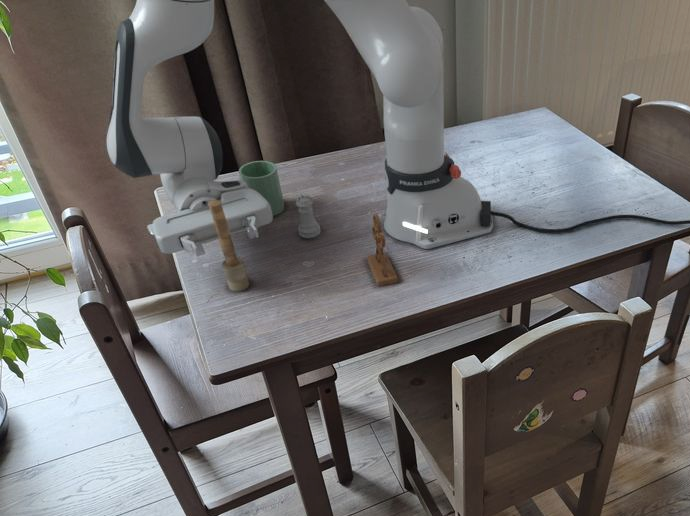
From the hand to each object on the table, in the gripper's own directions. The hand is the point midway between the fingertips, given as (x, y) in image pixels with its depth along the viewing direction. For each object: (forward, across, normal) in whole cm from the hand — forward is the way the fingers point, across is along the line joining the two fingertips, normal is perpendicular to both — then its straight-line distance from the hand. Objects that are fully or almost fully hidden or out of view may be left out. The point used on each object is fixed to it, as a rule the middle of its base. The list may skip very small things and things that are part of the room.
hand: (227, 243), depth 109 cm
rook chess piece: (-10, +18, +10) cm, 22 cm away
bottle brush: (-1, 0, +10) cm, 10 cm away
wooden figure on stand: (+10, +24, +10) cm, 28 cm away
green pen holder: (-23, +14, +10) cm, 29 cm away
